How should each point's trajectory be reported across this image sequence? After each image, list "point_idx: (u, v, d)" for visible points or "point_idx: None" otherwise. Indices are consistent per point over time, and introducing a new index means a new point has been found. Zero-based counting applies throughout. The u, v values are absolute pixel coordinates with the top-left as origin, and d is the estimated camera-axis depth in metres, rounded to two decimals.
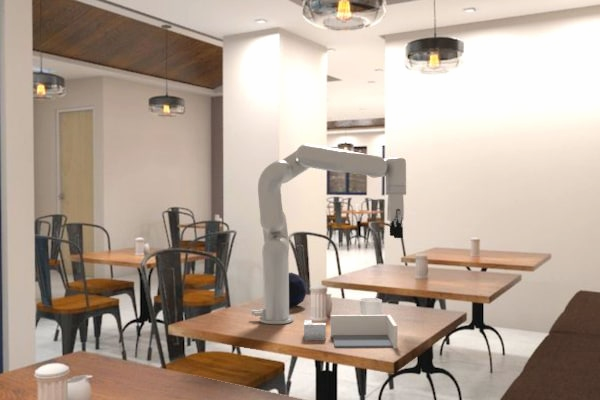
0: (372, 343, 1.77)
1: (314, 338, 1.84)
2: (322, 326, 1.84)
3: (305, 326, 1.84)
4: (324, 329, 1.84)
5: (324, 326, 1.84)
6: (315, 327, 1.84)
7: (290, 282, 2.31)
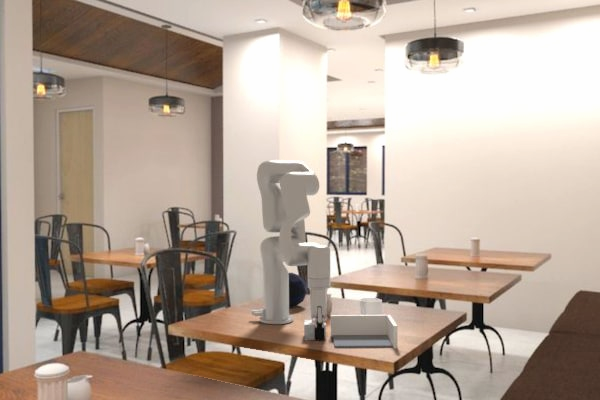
0: (372, 343, 1.77)
1: (314, 338, 1.84)
2: None
3: (305, 326, 1.84)
4: (324, 329, 1.84)
5: (324, 326, 1.84)
6: None
7: (290, 282, 2.31)
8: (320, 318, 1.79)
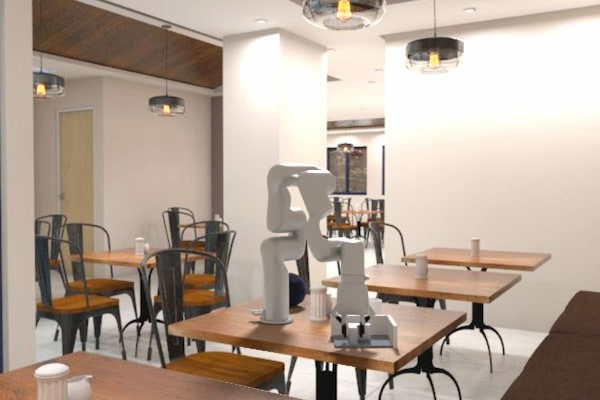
0: (372, 343, 1.77)
1: (348, 339, 1.80)
2: (349, 329, 1.77)
3: None
4: (349, 333, 1.76)
5: (349, 330, 1.76)
6: (348, 329, 1.79)
7: (290, 282, 2.31)
8: (333, 309, 1.78)
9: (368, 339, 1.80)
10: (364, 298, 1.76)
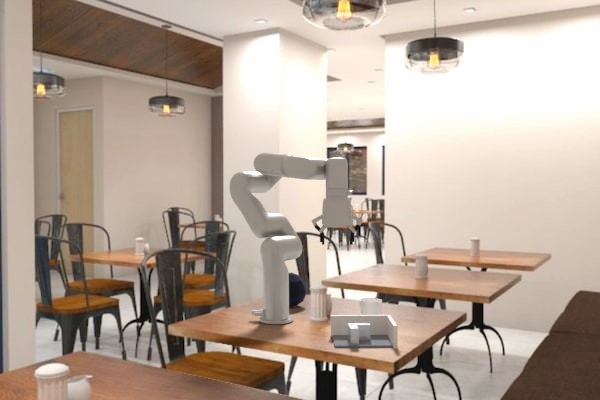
0: (372, 343, 1.77)
1: (349, 339, 1.80)
2: (350, 329, 1.77)
3: None
4: (350, 333, 1.76)
5: (350, 330, 1.76)
6: (349, 329, 1.79)
7: (290, 282, 2.31)
8: None
9: (368, 339, 1.81)
10: (348, 210, 1.90)
